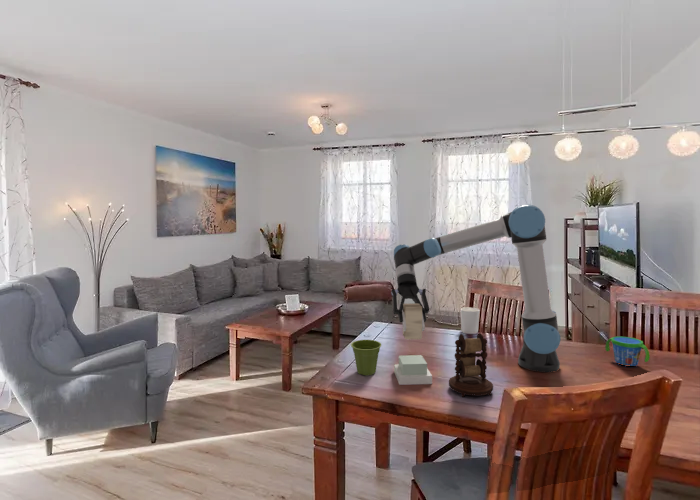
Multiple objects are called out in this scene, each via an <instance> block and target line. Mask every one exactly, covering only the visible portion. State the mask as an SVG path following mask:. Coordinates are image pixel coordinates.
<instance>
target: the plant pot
mask: <svg viewBox="0 0 700 500" xmlns="http://www.w3.org/2000/svg"><path fill="white" fill-rule="evenodd" d="M350 346H351V347H352V351H353V354H354V359H355V360H354V361H355V367H356V371H357V374H359V375H363V376H372V375H374V374H375V373H376V371H377V365H378V359H379V353H380V348H381V347H382V342H380V341H378V340H373V339H359V340H354V341H353V342H351V344H350Z"/></svg>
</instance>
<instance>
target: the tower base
mask: <svg viewBox="0 0 700 500" xmlns="http://www.w3.org/2000/svg"><path fill="white" fill-rule="evenodd" d="M393 367H394V368H393V373H394V375H395V377H396V380H397V383H398V385H399V386H402V385H403V386H404V385H405V386H407V385H432V384H433V374H432V373H431V371H430V370H429V369H428V362H427V361H426V359H425V358H424V356H423V355H421V354H414V355H398V363H397V364H394V365H393Z"/></svg>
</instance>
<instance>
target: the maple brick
mask: <svg viewBox="0 0 700 500" xmlns="http://www.w3.org/2000/svg"><path fill="white" fill-rule="evenodd" d="M422 306H423V305H422ZM422 306H421V305H420V304H418V303H415V302H414V303H404V304H403V310H402V312H404V313H405V321H406V327H407V328H406V331H403V330H402V336H403V337H404V340H422V339H423V331H422Z"/></svg>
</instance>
